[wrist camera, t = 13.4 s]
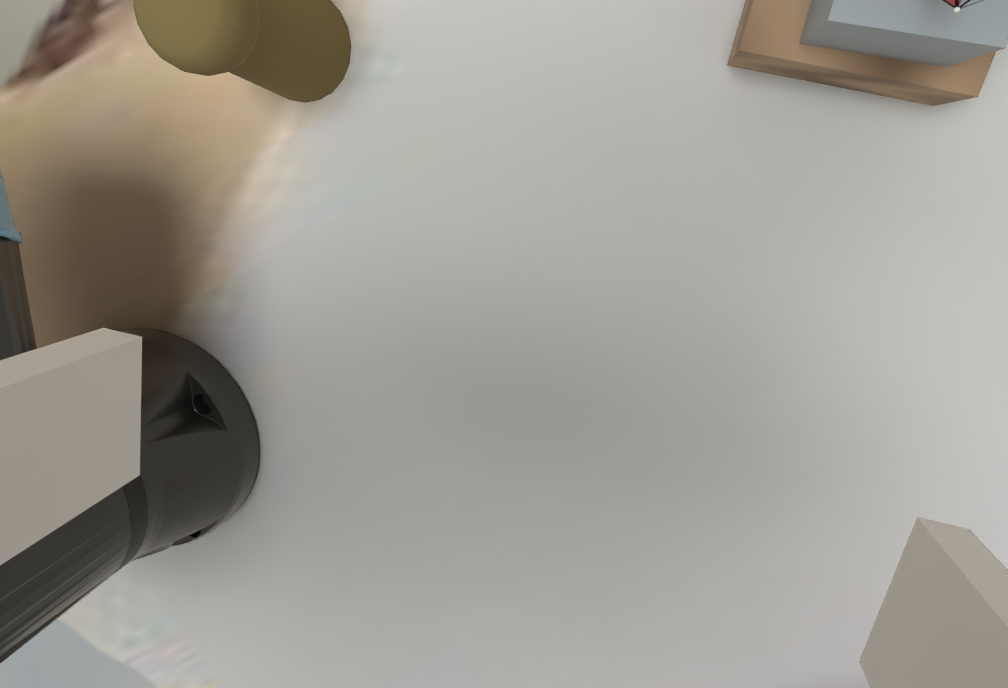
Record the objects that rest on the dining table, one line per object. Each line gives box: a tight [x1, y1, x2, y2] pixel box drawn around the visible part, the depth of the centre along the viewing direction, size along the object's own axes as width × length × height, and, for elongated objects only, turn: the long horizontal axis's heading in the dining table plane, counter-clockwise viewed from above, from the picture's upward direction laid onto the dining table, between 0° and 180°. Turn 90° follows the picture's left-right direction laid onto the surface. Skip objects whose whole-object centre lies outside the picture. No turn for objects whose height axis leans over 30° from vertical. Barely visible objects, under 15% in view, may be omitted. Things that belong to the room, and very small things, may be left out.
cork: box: [134, 0, 351, 102], centre depth 33 cm, size 6×6×11 cm
